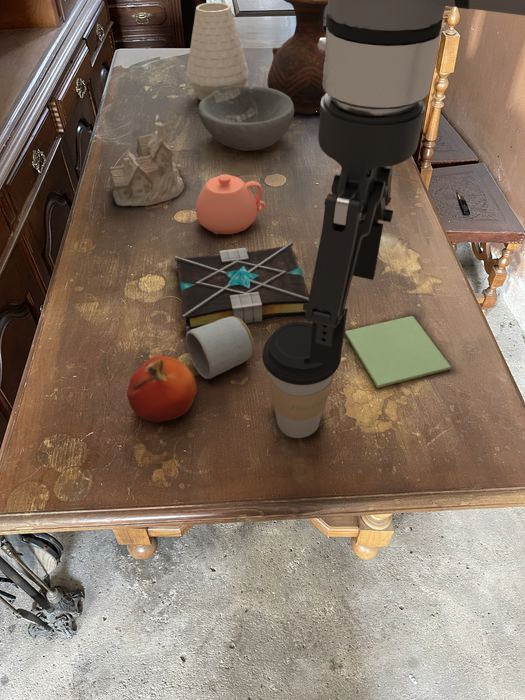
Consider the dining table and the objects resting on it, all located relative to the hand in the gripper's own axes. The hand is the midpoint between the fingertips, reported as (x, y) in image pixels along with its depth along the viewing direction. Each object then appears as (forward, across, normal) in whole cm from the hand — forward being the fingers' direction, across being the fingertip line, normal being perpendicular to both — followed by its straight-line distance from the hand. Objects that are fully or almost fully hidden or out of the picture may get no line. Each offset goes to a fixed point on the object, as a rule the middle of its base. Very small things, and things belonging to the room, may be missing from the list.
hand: (344, 315), depth 54 cm
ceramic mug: (+24, -10, -21) cm, 34 cm away
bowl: (+24, -80, -45) cm, 95 cm away
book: (+24, -26, -23) cm, 43 cm away
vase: (+24, -103, -63) cm, 123 cm away
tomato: (+24, +1, -24) cm, 34 cm away
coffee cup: (+24, -3, -5) cm, 25 cm away
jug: (+24, -108, -38) cm, 117 cm away
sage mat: (+24, -21, +5) cm, 33 cm away
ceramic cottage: (+24, -53, -57) cm, 82 cm away
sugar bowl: (+24, -46, -34) cm, 62 cm away
